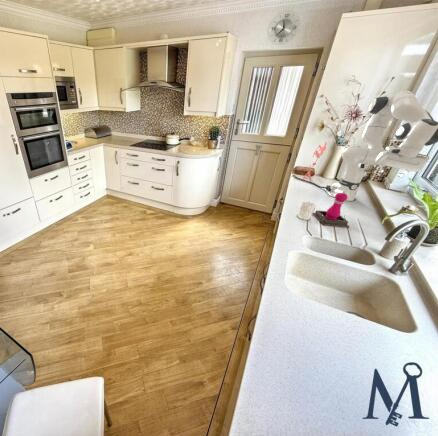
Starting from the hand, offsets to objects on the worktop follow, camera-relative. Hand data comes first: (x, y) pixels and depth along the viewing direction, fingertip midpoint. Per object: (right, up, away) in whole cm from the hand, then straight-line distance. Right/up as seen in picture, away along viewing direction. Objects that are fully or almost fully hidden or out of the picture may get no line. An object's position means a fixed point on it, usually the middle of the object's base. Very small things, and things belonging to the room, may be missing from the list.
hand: (389, 174), depth 135 cm
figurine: (+15, +11, +85) cm, 87 cm away
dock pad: (-21, -27, +18) cm, 38 cm away
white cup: (-37, -25, +20) cm, 49 cm away
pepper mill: (-21, -26, +17) cm, 38 cm away
